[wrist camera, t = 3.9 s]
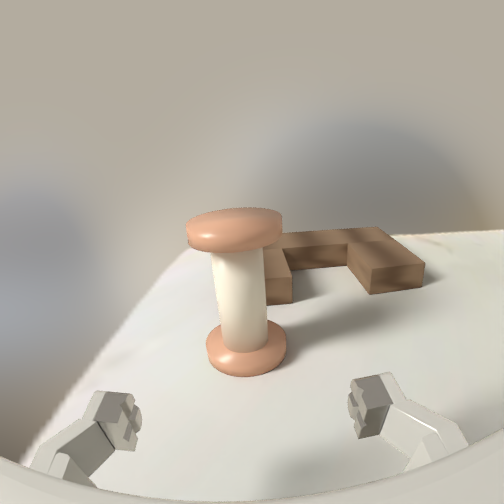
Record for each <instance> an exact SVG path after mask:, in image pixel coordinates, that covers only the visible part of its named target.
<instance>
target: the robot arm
mask: <svg viewBox="0 0 504 504" xmlns="http://www.w3.org/2000/svg"><path fill="white" fill-rule="evenodd" d="M350 388H351V390H352V392H351V393H350V394H349V395H348V410H349V414H350V417H351V418H352V419H354V420H355V423H354V428H355V431H356V434H357V437H358V439H361V438H366V437H371V436H375V435H379V436H380V437H382V438H383V439H384V440H386V441H387V442H388V443H389V444H391V445H392V446H393V447H395V448H396V449H397V450H398V451H400V452H401V453H402V454H404V455H405V456H406V457H408V458H409V459H410V461H409V463H408V464H407V466H406V467H405V469H404V471H403V473H400V474H397V475H394V476H391V477H387V478H384V479H381V480H377V481H373V482H370V483H366V484H362V485H358V486H354V487H349V488H345V489H340V490H335V491H330V492H324V493H319V494H312V495H306V496H299V497H291V498H282V499H271V500H258V501H235V502H207V501H184V500H171V499H160V498H151V497H144V496H137V495H130V494H124V493H118V492H113V491H108V490H103V489H99V488H97V487H96V485H95V484H94V483H93V482H92V481H91V480H90V479H89V478H88V477H89V476H90V475H91V474H93V473H94V472H95V471H96V470H97V469H98V468H99V467H100V466H101V465H102V464H103V463H104V462H105V461H106V459H107V458H108V457H109V456H110V455H111V454H112V453H113V452H114V451H115V450H124V451H135V448H136V444H137V441H138V438H137V436H136V433H137V432H138V431H140V429H141V425H142V416H141V412H140V409H139V408H138V407H137V406H136V405H134V403H135V399H134V397H133V395H132V394H128V393H118V392H106V391H95V392H94V394H93V396H92V398H91V400H90V402H89V404H88V407H87V409H86V411H85V413H84V415H83V418H82V419H78V420H76V421H75V422H74V423H72V424H71V425H69V426H68V427H66V428H65V429H63V430H62V431H61V432H59V433H58V434H56V435H55V436H53V437H52V438H50V439H49V440H47V441H46V442H44V443H43V444H42V445H40V446H39V448H38V450H37V452H36V454H35V457H34V459H33V461H32V463H31V465H30V468H28V467H25V466H22V465H20V464H17V463H15V462H12V461H10V460H8V459H5V458H3V457H1V456H0V504H504V428H502V429H500V430H499V431H497V432H495V433H493V434H491V435H490V436H488V437H486V438H484V439H482V440H480V441H478V442H476V443H474V444H472V445H470V446H469V444H468V442H467V441H466V439H465V437H464V436H463V434H462V432H461V430H460V429H459V427H458V425H457V424H456V423H455V422H453V421H451V420H449V419H447V418H445V417H443V416H441V415H439V414H437V413H435V412H433V411H431V410H429V409H427V408H425V407H424V406H422V405H420V404H418V403H416V402H414V401H412V400H406V398H405V396H404V394H403V392H402V391H401V389H400V387H399V385H398V384H397V382H396V380H395V378H394V377H393V375H392V373H390V372H386V373H382V374H377V375H372V376H367V377H363V378H358V379H353V380H352V381H351V385H350Z"/></svg>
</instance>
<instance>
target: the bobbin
mask: <svg viewBox="0 0 504 504" xmlns="http://www.w3.org/2000/svg"><path fill="white" fill-rule="evenodd" d="M186 230H187V237H188V244H189V245H190V246H191V247H192V248H194V249H196V250H200V251H204V252H210V253H211V261H212V268H213V276H214V283H215V290H216V297H217V304H218V311H219V317H220V324H221V325H219V326H217V327H216V328H215V329H213V330H212V331H211V332H210V334H209V335H208V337H207V340H206V347H207V352H208V357H209V361H210V363H211V364H212V365H213V366H214V367H215V368H216V369H217V370H218V371H220V372H222V373H225V374H227V375H231V376H237V377H250V376H256V375H260V374H264V373H266V372H268V371H270V370H272V369H274V368H275V367H277V366H278V365H279V364H280V363H281V362H282V361H283V359H284V357H285V355H286V335H285V332H284V330H283V329H282V328H281V327H280V326H279V325H278V324H276V323H274V322H272V321H270V320H267V308H266V292H265V276H264V261H263V247H265V246H268V245H270V244H273V243H274V242H276V241H278V240H279V239H280V238H281V237H282V234H283V233H282V216H281V214H280V213H279V212H277V211H274V210H270V209H265V208H233V209H232V208H231V209H224V210H217V211H212V212H208V213H205V214H201V215H199V216H196V217H194V218H192V219H190V220H189V221H188V222H187V223H186Z"/></svg>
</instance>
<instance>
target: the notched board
mask: <svg viewBox="0 0 504 504" xmlns="http://www.w3.org/2000/svg"><path fill="white" fill-rule="evenodd" d="M263 261H264V276H265V292H266V306H267V305H278V304H289V303H293V301H292V275H291V272H290V270H301V269H312V268H324V267H334V266H345V265H347V266H348V268H349V269H350V270H351V271H352V273H353V274H354V275H355V277H356V278H357V279H358V280H359V282H360V283H361V284H362V286H363V287H364V288H365V290H366V291H367V292H368V294H369V295H370V294H377V293H385V292H392V291H399V290H406V289H413V288H419V287H422V281H423V275H424V268H425V262H424V261H422V260H421V259H420V258H418V257H417V256H416V255H414V254H413V253H412V252H411V251H409V250H408V249H407V248H405V247H404V246H403V245H401V244H400V243H399V242H397V241H396V240H395V239H393V238H392V237H390V236H389V235H388V234H386V233H385V232H384V231H382V230H381V229H379V228H378V227H366V228H350V229H337V230H336V229H335V230H321V231H306V232H292V233H283V234H282V237H281V238H280V239H279V240H278V241H276V242H274V243H273V244H270V245H268V246H265V247H263Z"/></svg>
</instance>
